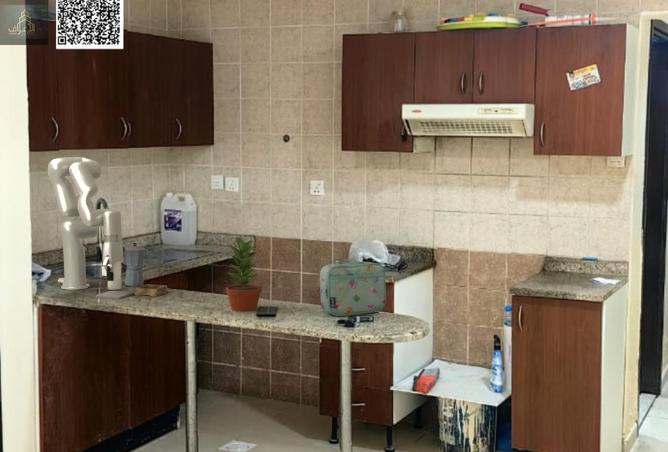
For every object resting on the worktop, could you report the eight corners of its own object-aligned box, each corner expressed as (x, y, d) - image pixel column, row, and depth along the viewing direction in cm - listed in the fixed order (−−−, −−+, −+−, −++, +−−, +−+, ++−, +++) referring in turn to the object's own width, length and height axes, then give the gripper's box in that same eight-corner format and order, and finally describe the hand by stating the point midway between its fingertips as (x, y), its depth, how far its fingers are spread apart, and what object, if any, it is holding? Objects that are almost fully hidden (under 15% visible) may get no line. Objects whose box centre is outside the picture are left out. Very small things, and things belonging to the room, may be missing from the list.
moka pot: (144, 287, 456) (143, 244, 454) (113, 286, 460) (112, 243, 457) (152, 284, 466) (151, 241, 463) (121, 283, 469) (120, 241, 467)
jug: (99, 288, 435) (98, 261, 434) (106, 286, 441) (106, 259, 439) (117, 289, 432) (116, 262, 431) (124, 287, 438) (123, 260, 436)
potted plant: (249, 314, 395) (247, 239, 391) (219, 310, 403) (217, 236, 399) (270, 307, 407) (270, 235, 404) (241, 304, 415) (240, 233, 412)
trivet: (95, 297, 433) (95, 295, 433) (110, 292, 444) (110, 290, 444) (119, 298, 429) (119, 297, 429) (133, 294, 440) (133, 292, 440)
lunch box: (326, 318, 385) (326, 264, 383) (316, 314, 395) (316, 260, 392) (388, 313, 396) (388, 259, 393) (376, 308, 405) (376, 256, 403)
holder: (134, 295, 437) (134, 288, 437) (146, 291, 447) (146, 284, 447) (155, 296, 434) (155, 289, 434) (167, 292, 444) (167, 285, 443)
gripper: (115, 236, 443) (117, 276, 445) (94, 240, 427) (96, 282, 429) (130, 236, 440) (132, 276, 442) (109, 241, 424) (111, 283, 426)
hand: (114, 279), depth 435 cm, fingers closed on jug, 6 cm apart
